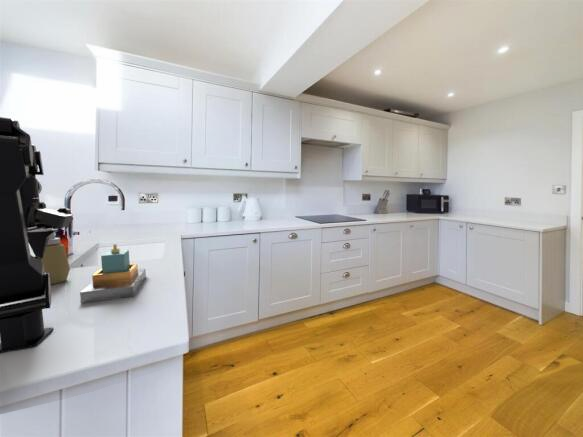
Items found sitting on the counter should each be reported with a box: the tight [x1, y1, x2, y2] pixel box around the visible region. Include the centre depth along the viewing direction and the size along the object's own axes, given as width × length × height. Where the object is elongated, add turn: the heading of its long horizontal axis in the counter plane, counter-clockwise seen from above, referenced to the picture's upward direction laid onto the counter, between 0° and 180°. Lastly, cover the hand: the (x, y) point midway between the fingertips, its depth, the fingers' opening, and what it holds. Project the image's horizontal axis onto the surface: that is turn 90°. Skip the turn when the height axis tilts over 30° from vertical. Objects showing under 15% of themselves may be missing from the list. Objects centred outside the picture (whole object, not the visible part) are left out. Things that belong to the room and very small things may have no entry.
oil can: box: [100, 243, 131, 274], centre depth 75 cm, size 6×6×11 cm
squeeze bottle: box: [42, 228, 71, 285], centre depth 80 cm, size 8×8×18 cm
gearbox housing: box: [79, 263, 147, 304], centre depth 76 cm, size 19×12×6 cm, turn 21°
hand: (29, 263), depth 60 cm, fingers open, 9 cm apart
